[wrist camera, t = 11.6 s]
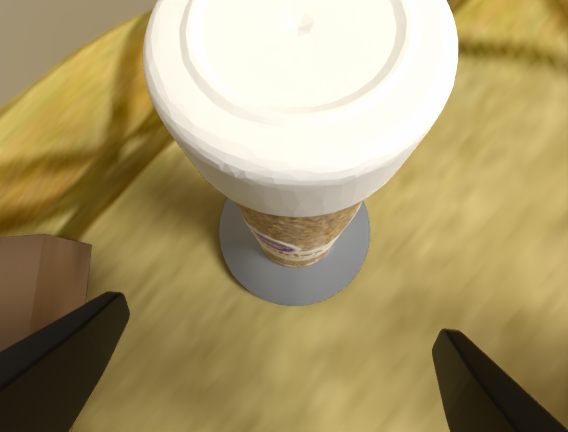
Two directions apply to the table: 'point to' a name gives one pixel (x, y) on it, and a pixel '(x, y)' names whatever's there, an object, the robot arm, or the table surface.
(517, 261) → the table surface
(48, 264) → the walnut caddy
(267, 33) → the sprinkles bottle
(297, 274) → the slate coaster
